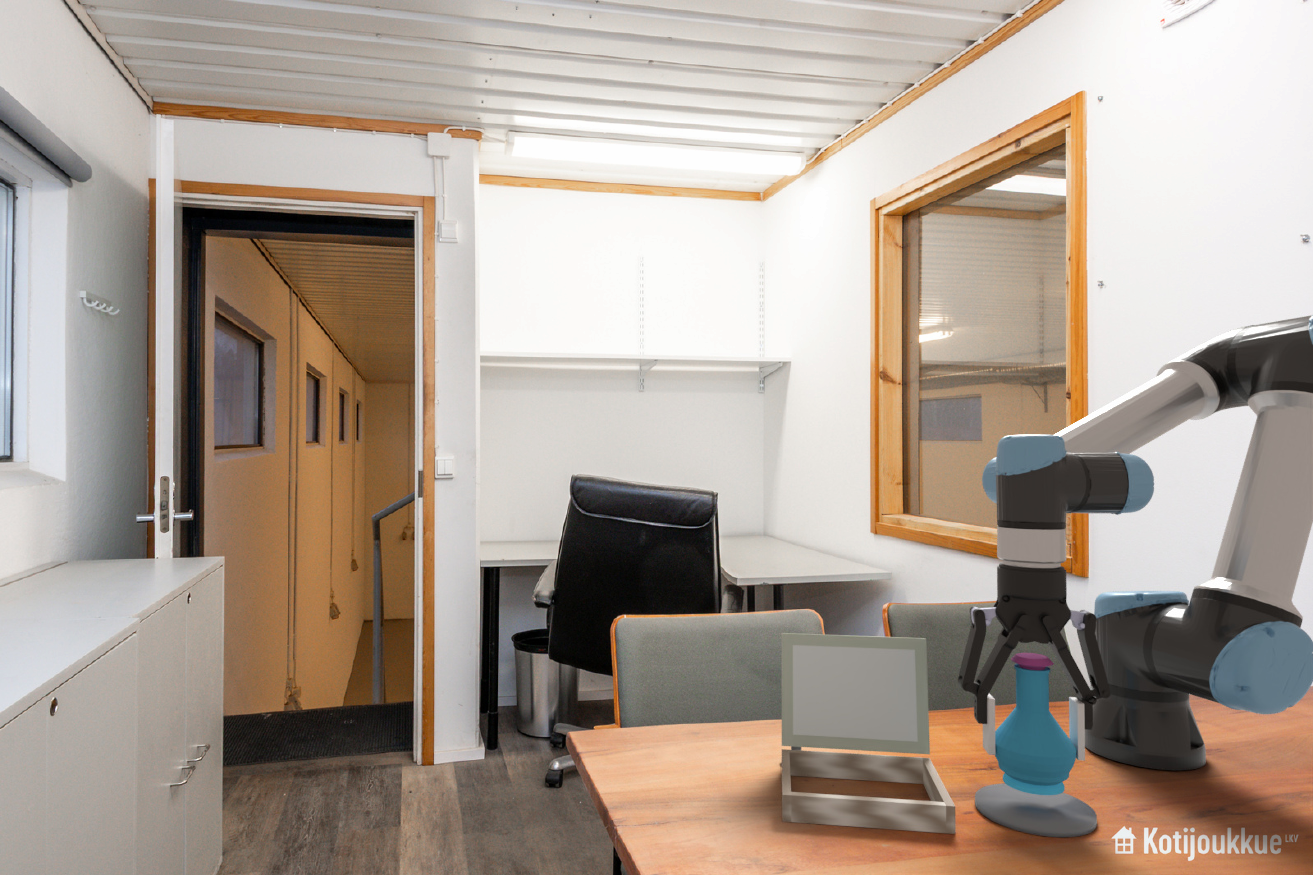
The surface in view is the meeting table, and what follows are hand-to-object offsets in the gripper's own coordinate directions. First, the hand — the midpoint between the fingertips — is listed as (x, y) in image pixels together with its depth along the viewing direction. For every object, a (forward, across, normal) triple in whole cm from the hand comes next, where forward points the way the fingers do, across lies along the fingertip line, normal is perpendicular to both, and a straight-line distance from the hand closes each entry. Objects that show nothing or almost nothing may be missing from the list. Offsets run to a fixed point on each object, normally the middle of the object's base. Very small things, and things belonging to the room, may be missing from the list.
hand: (1032, 753), depth 94 cm
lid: (-4, +20, -8) cm, 22 cm away
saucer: (+7, 0, 0) cm, 7 cm away
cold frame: (+7, +20, 0) cm, 21 cm away
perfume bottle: (+4, 0, 0) cm, 4 cm away
